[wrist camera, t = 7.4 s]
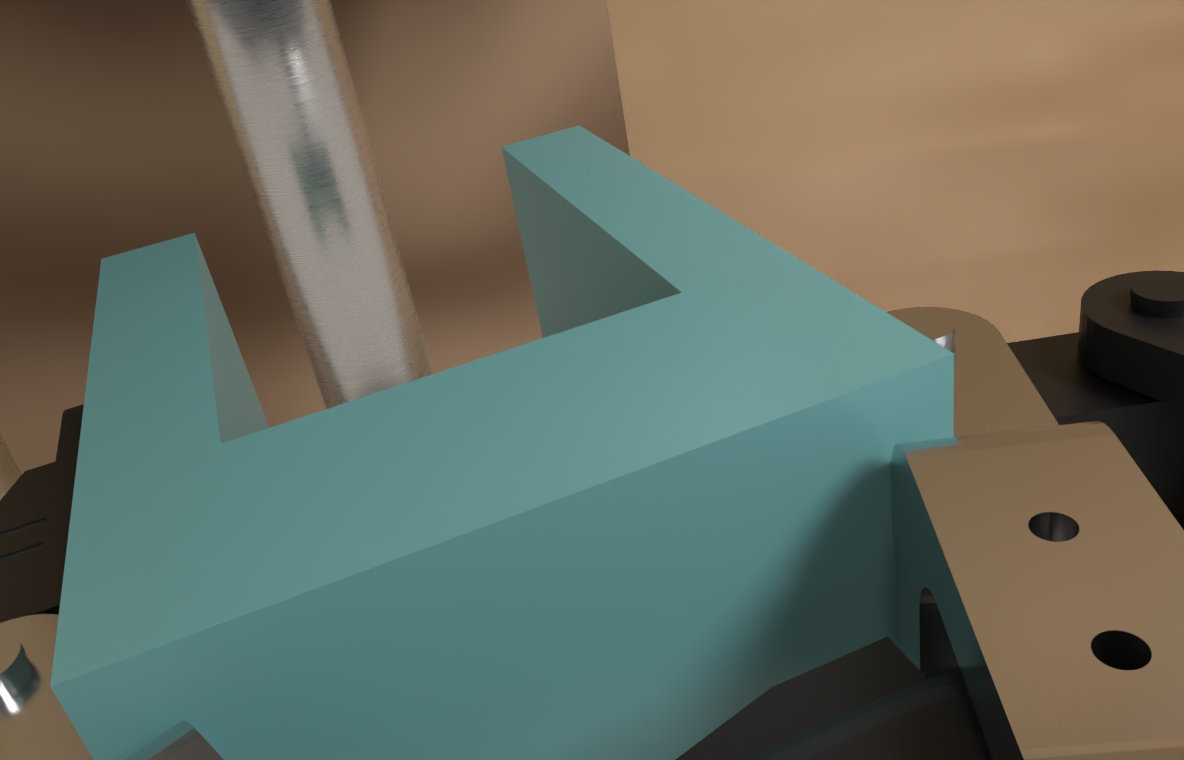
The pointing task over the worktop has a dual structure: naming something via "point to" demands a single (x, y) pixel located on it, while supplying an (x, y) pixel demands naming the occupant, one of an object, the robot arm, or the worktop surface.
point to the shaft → (315, 189)
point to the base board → (222, 193)
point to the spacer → (495, 501)
